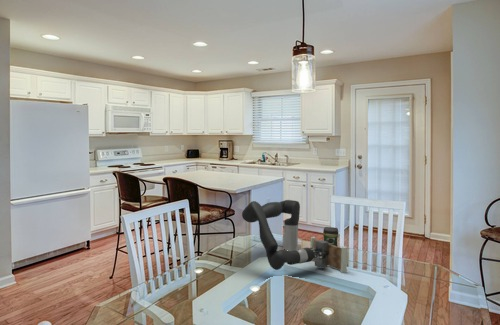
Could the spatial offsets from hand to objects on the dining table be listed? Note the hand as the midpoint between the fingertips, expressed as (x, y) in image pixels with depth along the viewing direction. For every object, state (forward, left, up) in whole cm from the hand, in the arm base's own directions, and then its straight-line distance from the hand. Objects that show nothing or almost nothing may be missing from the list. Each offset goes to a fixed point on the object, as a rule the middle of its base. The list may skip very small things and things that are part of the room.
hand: (324, 251), depth 188 cm
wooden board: (-1, +4, -9) cm, 10 cm away
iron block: (0, -2, -8) cm, 8 cm away
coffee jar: (-13, +19, -10) cm, 25 cm away
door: (-1, +4, -9) cm, 10 cm away
